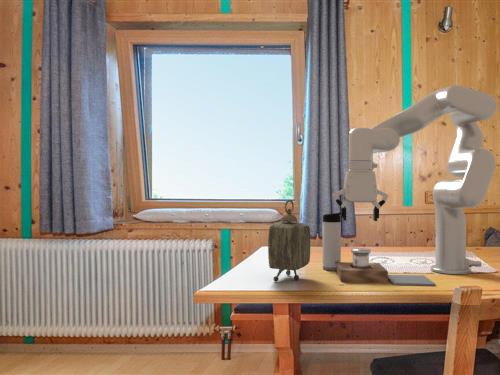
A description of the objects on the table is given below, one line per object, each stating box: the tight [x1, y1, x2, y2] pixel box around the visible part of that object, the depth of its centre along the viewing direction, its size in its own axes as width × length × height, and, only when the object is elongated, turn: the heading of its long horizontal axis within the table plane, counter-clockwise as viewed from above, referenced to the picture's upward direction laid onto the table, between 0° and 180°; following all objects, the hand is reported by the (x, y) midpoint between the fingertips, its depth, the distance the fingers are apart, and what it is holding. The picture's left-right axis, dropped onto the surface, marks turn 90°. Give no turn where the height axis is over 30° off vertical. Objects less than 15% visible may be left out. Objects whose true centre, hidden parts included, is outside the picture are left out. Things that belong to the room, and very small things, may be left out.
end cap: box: [350, 247, 371, 268], centre depth 140 cm, size 6×6×9 cm
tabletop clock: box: [267, 199, 311, 283], centre depth 137 cm, size 14×9×25 cm, turn 155°
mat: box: [388, 274, 437, 287], centre depth 135 cm, size 12×12×1 cm
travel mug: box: [322, 211, 342, 272], centre depth 154 cm, size 6×7×20 cm
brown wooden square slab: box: [336, 261, 389, 284], centre depth 140 cm, size 14×14×4 cm
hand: (359, 220), depth 140 cm, fingers open, 9 cm apart
